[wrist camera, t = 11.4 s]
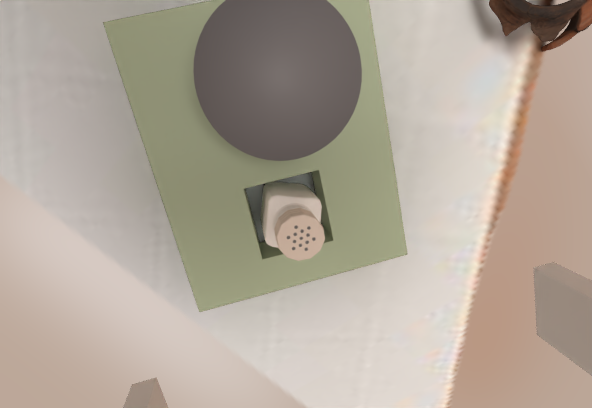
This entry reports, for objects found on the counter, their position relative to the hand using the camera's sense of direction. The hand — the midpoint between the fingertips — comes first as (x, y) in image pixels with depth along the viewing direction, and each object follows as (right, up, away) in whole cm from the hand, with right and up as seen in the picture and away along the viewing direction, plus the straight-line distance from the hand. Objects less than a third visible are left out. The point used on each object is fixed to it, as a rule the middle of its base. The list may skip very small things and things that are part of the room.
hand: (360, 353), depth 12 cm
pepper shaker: (-3, +5, +21) cm, 22 cm away
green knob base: (-4, +10, +19) cm, 22 cm away
